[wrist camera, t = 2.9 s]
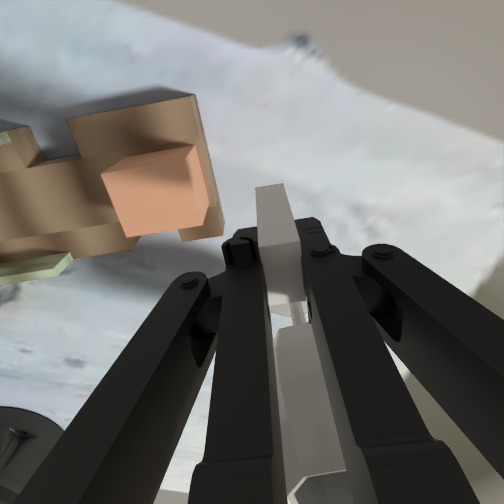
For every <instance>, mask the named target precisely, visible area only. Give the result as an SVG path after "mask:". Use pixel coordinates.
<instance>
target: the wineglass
mask: <svg viewBox="0 0 504 504" xmlns="http://www.w3.org/2000/svg"><path fill="white" fill-rule="evenodd" d="M269 309H270V312H271V313H275V314H278V315H282V316H286V317H292V321H293V326H289V327H285V328H281V329H279V330H278V332H277V334H276V336H275V338H274V339H273V348H274V359H275V370H276V381H277V392H278V403H279V415H280V426H281V437H282V448H283V459H284V470H285V481H286V492H287V497H288V499H289V501H290V503H291V504H354V501H353V496H352V492H351V488H350V484H349V480H348V475H347V471H346V467H345V463H344V459H343V455H342V450H341V446H340V442H339V438H338V434H337V430H336V425H335V421H334V417H333V413H332V409H331V405H330V400H329V396H328V392H327V388H326V384H325V380H324V375H323V371H322V367H321V363H320V359H319V355H318V350H317V346H316V342H315V338H314V334H313V330H312V325H311V324H309V322H306V318H305V313H308V308H307V298H306V301H301V302H294V303H286V304H279V305H271V306H269Z"/></svg>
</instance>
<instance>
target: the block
mask: <svg viewBox="0 0 504 504" xmlns="http://www.w3.org/2000/svg"><path fill="white" fill-rule="evenodd" d="M101 176H102V179H103V181H104V184H105V186H106V189H107V191H108V194H109V196H110V198H111V201H112V203H113V206H114V208H115V211H116V213H117V215H118V218H119V220H120V223H121V225H122V228H123V230H124V233H125V235H126V237H133V236H139V235H146V234H152V233H158V232H164V231H171V230H177V229H183V228H189V227H196V226H202V225H203V222H204V219H205V215H206V212H207V208H208V205H209V199H208V195H207V191H206V187H205V183H204V179H203V175H202V170H201V166H200V162H199V158H198V154H197V150H196V146H195V145H192V146H186V147H180V148H175V149H169V150H163V151H158V152H152V153H147V154H141V155H135V156H130V157H125V158H123V159H122V160H120V161H119V162H117V163H116V164H114V165H113V166H112V167H110V168H109V169H107V170H106V171H104V172H103V173H101Z"/></svg>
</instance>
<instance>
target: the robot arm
mask: <svg viewBox="0 0 504 504" xmlns="http://www.w3.org/2000/svg"><path fill="white" fill-rule="evenodd" d="M255 190H256V210H257V227H250V228H244V229H238V230H237V231H236V232H235V234H234V235H233V238H230V239H228V240H227V241H225V242H224V243H223V244H222V246H221V247H222V252H223V256H224V260H225V264H226V270H225V271H224V272H223V273H221V274H219V275H217V276H214V277H212V278H209V279H207V277H206V275H205V274H204V273H202V272H188V273H185V274H182V275H181V276H179V277H177V278H176V279H175V280H174V281H173V282H172V283H171V285H170V286H169V288H168V289H167V290H166V292H165V293H164V294H163V296H162V297H161V299H160V300H159V301H158V303H157V304H156V305H155V307H154V308H153V310H152V311H151V312H150V314H149V315H148V317H147V318H146V319H145V321H144V322H143V323H142V325H141V326H140V328H139V329H138V330H137V332H136V333H135V334H134V336H133V337H132V339H131V340H130V341H129V343H128V344H127V346H126V347H125V348H124V350H123V351H122V352H121V354H120V355H119V357H118V358H117V359H116V361H115V362H114V364H113V365H112V366H111V368H110V369H109V370H108V372H107V373H106V375H105V376H104V377H103V379H102V380H101V381H100V383H99V384H98V386H97V387H96V388H95V390H94V391H93V393H92V394H91V395H90V397H89V398H88V399H87V401H86V402H85V404H84V405H83V406H82V408H81V409H80V410H79V412H78V413H77V415H76V416H75V417H74V419H73V420H72V422H71V423H70V424H69V426H68V427H67V428H66V430H65V431H63V430H62V429H61V428H60V427H59V426H58V425H56V424H55V423H54V422H52V421H50V420H49V419H47V418H45V417H43V416H40V415H38V414H35V413H32V412H29V411H25V410H20V409H14V408H0V504H153V503H154V500H155V498H156V495H157V493H158V490H159V488H160V485H161V483H162V481H163V478H164V476H165V473H166V471H167V468H168V466H169V464H170V461H171V459H172V456H173V454H174V451H175V449H176V446H177V444H178V442H179V439H180V437H181V434H182V432H183V429H184V427H185V425H186V422H187V420H188V417H189V415H190V412H191V410H192V407H193V405H194V403H195V400H196V398H197V395H198V393H199V390H200V388H201V386H202V383H203V381H204V378H205V376H206V373H207V371H208V368H209V366H210V364H211V361H212V359H213V356H214V354H215V351H216V356H215V365H214V374H213V382H212V391H211V400H210V408H209V417H208V426H207V434H206V443H205V451H204V457H203V459H202V462H200V463H199V464H197V465H196V467H195V469H194V471H193V475H192V480H191V485H190V491H189V498H188V504H288V503H287V492H286V481H285V470H284V459H283V448H282V437H281V426H280V415H279V403H278V392H277V381H276V370H275V359H274V348H273V337H272V326H271V315H270V309H269V306H271V305H279V304H286V303H294V302H301V301H306V298H307V308H308V318H309V324H311V325H312V330H313V334H314V338H315V342H316V346H317V350H318V355H319V359H320V363H321V367H322V371H323V375H324V380H325V384H326V388H327V392H328V396H329V400H330V405H331V409H332V413H333V417H334V421H335V425H336V430H337V434H338V438H339V442H340V446H341V450H342V455H343V459H344V463H345V467H346V471H347V475H348V480H349V484H350V488H351V492H352V496H353V501H354V504H480V502H479V501H478V499H477V497H476V495H475V493H474V491H473V489H472V487H471V485H470V484H469V482H468V480H467V478H466V476H465V474H464V472H463V471H462V469H461V467H460V465H459V463H458V461H457V459H456V458H455V456H454V455H453V453H452V451H451V450H450V448H449V447H448V446H447V445H446V444H445V443H444V442H443V441H441V440H437V439H434V438H433V437H432V436H431V435H430V433H429V431H428V429H427V428H426V426H425V424H424V422H423V420H422V418H421V416H420V414H419V411H418V409H417V407H416V405H415V403H414V401H413V399H412V397H411V395H410V393H409V391H408V389H407V387H406V385H405V383H404V381H403V379H402V377H401V375H400V373H399V371H398V369H397V367H396V365H395V363H394V361H393V359H392V357H391V355H390V353H389V351H388V349H387V347H386V345H385V343H386V344H387V345H388V346H389V347H390V348H391V349H392V351H393V352H394V353H395V354H396V355H397V356H398V358H399V359H400V360H401V361H402V362H403V363H404V365H405V366H406V367H407V368H408V369H409V370H410V371H411V373H412V374H413V375H414V376H415V377H416V378H417V380H418V381H419V382H420V383H421V384H422V385H423V387H424V388H425V389H426V390H427V391H428V392H429V393H430V395H431V396H432V397H433V398H434V399H435V400H436V401H437V403H438V404H439V405H440V406H441V407H442V409H444V411H445V412H446V413H447V414H448V415H449V417H450V418H451V419H452V420H453V421H454V422H455V424H456V425H457V426H458V427H459V428H460V429H461V431H462V432H463V433H464V434H465V435H466V436H467V437H468V439H469V440H470V441H471V442H472V443H473V444H474V446H475V447H476V448H477V449H478V450H479V451H480V453H481V454H482V455H483V456H484V457H485V458H486V460H487V461H488V462H489V463H490V464H491V465H492V466H493V468H494V469H495V470H496V471H497V472H498V473H499V475H500V476H501V477H502V478H503V479H504V320H503V319H501V318H500V317H499V316H497V315H496V314H494V313H493V312H491V311H490V310H488V309H487V308H485V307H484V306H483V305H481V304H480V303H478V302H477V301H475V300H474V299H472V298H471V297H469V296H468V295H467V294H465V293H464V292H462V291H461V290H459V289H458V288H456V287H455V286H453V285H452V284H451V283H449V282H448V281H446V280H445V279H443V278H442V277H440V276H439V275H437V274H436V273H435V272H433V271H432V270H430V269H429V268H427V267H426V266H424V265H423V264H421V263H420V262H419V261H417V260H416V259H414V258H413V257H411V256H410V255H408V254H407V253H405V252H404V251H403V250H401V249H400V248H397V247H395V246H393V245H388V244H375V245H370V246H368V247H366V248H365V249H364V250H363V251H362V256H350V255H344V254H341V253H340V251H339V249H338V248H337V247H336V246H334V245H332V244H330V242H329V240H328V237H327V235H326V233H325V232H324V229H323V227H322V225H321V222H320V221H319V220H317V219H316V218H314V217H310V218H303V219H297V220H294V218H293V215H292V212H291V208H290V205H289V202H288V198H287V195H286V192H285V188H284V185H283V183H282V184H276V185H269V186H263V187H257V188H255ZM383 340H384V341H385V343H384V341H383Z"/></svg>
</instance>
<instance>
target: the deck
mask: <svg viewBox="0 0 504 504" xmlns="http://www.w3.org/2000/svg"><path fill="white" fill-rule="evenodd" d="M66 122H67V124H68V127H69V129H70V131H71V134H72V136H73V138H74V141H75V143H76V145H77V148H78V150H79V152H80V154H77V155H71V156H66V157H60V158H55V159H49V160H45V158H44V156H43V154H42V152H41V150H40V148H39V146H38V144H37V141H36V139H35V137H34V135H33V133H32V131H31V129H30V127H29V126H26V127H21V128H15V129H10V130H5V131H0V285H3V284H10V283H16V282H23V281H29V280H36V279H42V278H49V277H55V276H58V275H59V274H60V273H61V272H62V271H63V270H64V268H65V267H66V266H67V265H68V264H69V263H70V262H71V261H72V260H73V259H77V258H83V257H90V256H96V255H102V254H109V253H115V252H121V251H128V250H132V249H133V247H134V246H135V244H136V243H137V241H138V240H139V238H140V237H141V235H139V236H133V237H126V235H125V233H124V230H123V228H122V225H121V223H120V220H119V218H118V215H117V213H116V211H115V208H114V206H113V203H112V201H111V198H110V196H109V194H108V191H107V189H106V186H105V184H104V181H103V179H102V176H101V173H103V172H104V171H106V170H107V169H109V168H110V167H112V166H113V165H114V164H116V163H117V162H119V161H120V160H122V159H123V158H125V157H130V156H135V155H141V154H147V153H152V152H158V151H163V150H169V149H175V148H180V147H186V146H192V145H195V146H196V150H197V154H198V158H199V162H200V166H201V170H202V175H203V179H204V183H205V187H206V191H207V195H208V199H209V205H208V208H207V212H206V215H205V219H204V222H203V225H202V226H196V227H189V228H183V229H178V231H179V234H180V237H181V240H182V242H185V241H191V240H198V239H204V238H210V237H217V236H223V231H224V224H225V221H224V217H223V213H222V208H221V204H220V199H219V195H218V191H217V186H216V182H215V178H214V173H213V169H212V165H211V160H210V156H209V151H208V147H207V143H206V138H205V134H204V130H203V125H202V121H201V116H200V112H199V108H198V103H197V99H196V95H190V96H185V97H179V98H174V99H169V100H164V101H158V102H153V103H148V104H142V105H137V106H132V107H127V108H121V109H116V110H111V111H105V112H100V113H95V114H90V115H84V116H80V117H76V118H72V119H68V120H66Z"/></svg>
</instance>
